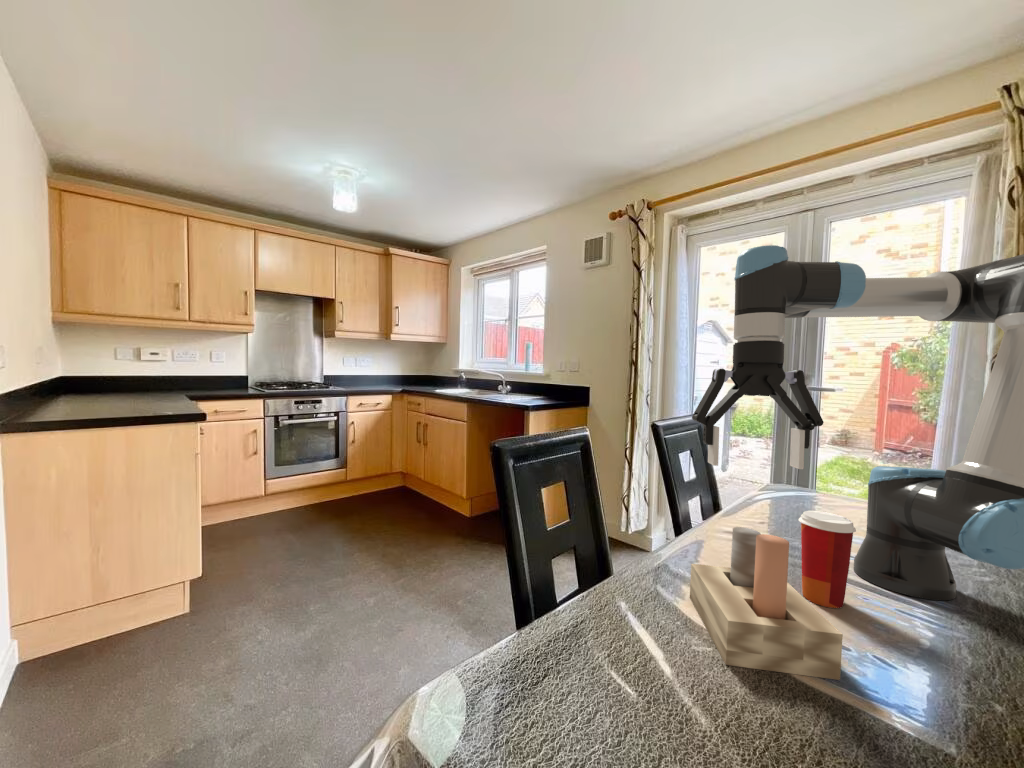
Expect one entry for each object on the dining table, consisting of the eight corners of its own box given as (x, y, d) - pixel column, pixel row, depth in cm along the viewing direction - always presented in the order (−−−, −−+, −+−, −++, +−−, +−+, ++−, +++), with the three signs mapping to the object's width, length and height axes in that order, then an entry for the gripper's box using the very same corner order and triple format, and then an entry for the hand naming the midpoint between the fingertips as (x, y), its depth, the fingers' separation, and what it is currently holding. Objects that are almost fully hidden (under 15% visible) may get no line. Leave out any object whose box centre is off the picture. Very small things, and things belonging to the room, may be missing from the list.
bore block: (775, 607, 73) (779, 526, 73) (840, 680, 55) (846, 573, 55) (689, 597, 75) (693, 518, 75) (725, 664, 57) (731, 561, 57)
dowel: (789, 647, 58) (794, 546, 58) (758, 643, 59) (763, 543, 59) (776, 630, 62) (780, 535, 62) (746, 626, 63) (751, 533, 63)
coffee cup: (840, 593, 79) (845, 513, 79) (860, 616, 71) (865, 527, 71) (788, 584, 82) (792, 507, 82) (802, 605, 74) (806, 519, 74)
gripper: (822, 344, 75) (818, 464, 75) (676, 341, 77) (672, 458, 77) (852, 340, 67) (847, 474, 68) (689, 337, 70) (685, 467, 70)
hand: (754, 466), depth 72 cm, fingers open, 13 cm apart
